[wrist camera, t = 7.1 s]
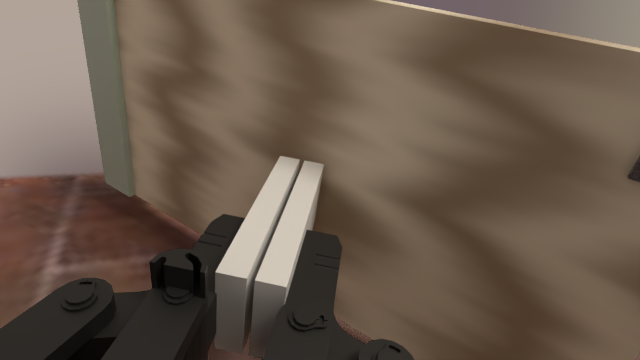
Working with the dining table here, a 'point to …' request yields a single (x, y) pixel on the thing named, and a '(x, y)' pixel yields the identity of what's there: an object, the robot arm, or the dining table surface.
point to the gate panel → (397, 158)
